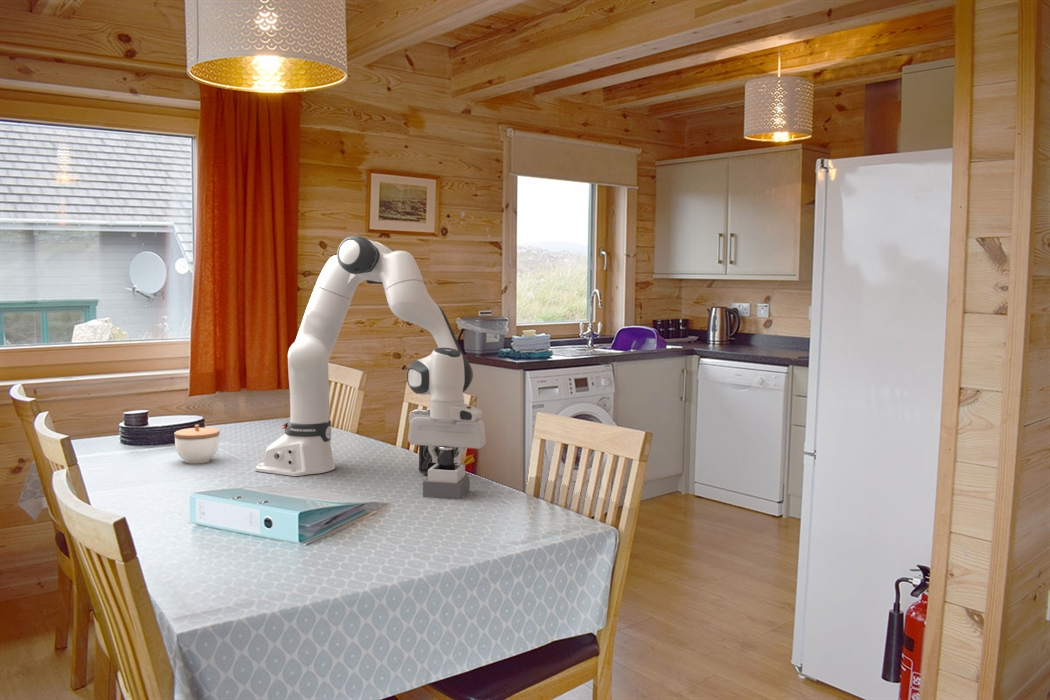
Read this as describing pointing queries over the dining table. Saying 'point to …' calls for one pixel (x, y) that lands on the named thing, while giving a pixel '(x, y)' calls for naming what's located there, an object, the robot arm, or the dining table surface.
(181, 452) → the lidded bowl
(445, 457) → the lens
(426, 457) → the camera
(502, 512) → the dining table surface
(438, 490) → the mount block
